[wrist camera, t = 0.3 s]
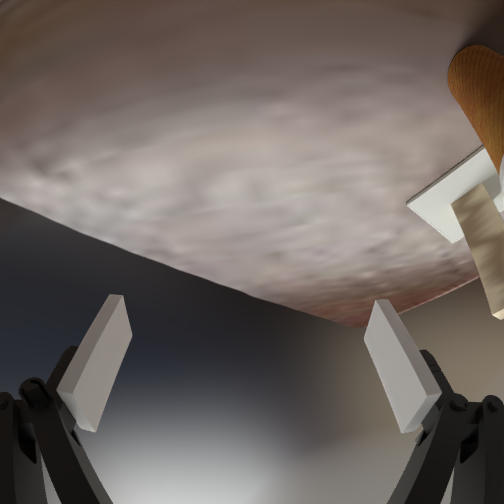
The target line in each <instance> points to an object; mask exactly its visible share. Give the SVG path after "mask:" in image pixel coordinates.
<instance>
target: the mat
mask: <svg viewBox="0 0 504 504" xmlns="http://www.w3.org/2000/svg"><path fill="white" fill-rule="evenodd" d="M481 182H482V184H483V185H484V187H485V188H486V190H487V192H488V193H489V195H490V197H491V198H492V200H493V202H494V204H495V205H496V207H497V209H498V211H499V213H500V212H502V211H503V210H504V196H503V193H502V191H501V183H500V177H499V175H498V173H497V170H496V168H495V166H494V164H493V162H492V160H491V159H490V156H489V155H488V153H487V151H486V149H485V147H484V145H483V146H481V147H480V148H479V149H478V150H476V151H475V152H474V153H472V154H471V155H470V156H469V157H467V158H466V159H465V160H463V161H462V162H461V163H459V164H458V165H457V166H455V167H454V168H453V169H451V170H450V171H449V172H447V173H446V174H445V175H443V176H442V177H441V178H439V179H438V180H437V181H435V182H434V183H432V184H431V185H430V186H428V187H427V188H426V189H424V190H423V191H422V192H420V193H419V194H417V195H416V196H415V197H413V198H412V199H410V200H409V201H408V202H406V205H407V206H408V207H409V208H410V209H412V210H413V211H414V212H415V213H417V214H418V215H419V216H420V217H422V218H423V219H424V220H425V221H426V222H428V223H429V224H430V225H431V226H433V227H434V228H435V229H436V230H437V231H438V232H440V233H441V234H442V235H443V236H444V237H445V238H447V239H448V240H449V241H450V242H451V243H452V244H453V243H454V242H456V241H458V240H459V239H461V238H462V237H464V233H463V231H462V229H461V227H460V224H459V222H458V220H457V218H456V215H455V213H454V211H453V209H452V207H451V205H450V204H452V203H453V202H455V201H456V200H457V199H459V198H460V197H462V196H463V195H465V194H466V193H467V192H469V191H470V190H472V189H473V188H474V187H476V186H477V185H478V184H480V183H481Z"/></svg>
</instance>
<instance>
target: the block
mask: <svg viewBox="0 0 504 504" xmlns="http://www.w3.org/2000/svg"><path fill="white" fill-rule="evenodd" d="M450 205H451V207H452V209H453V211H454V213H455V215H456V218H457V220H458V222H459V224H460V227H461V229H462V231H463V233H464V236H465V238H466V241H467V243H468V246H469V248H470V251H471V253H472V256H473V258H474V261H475V264H476V266H477V269H478V272H479V275H480V278H481V280H482V284H483V286H484V289H485V293H486V296H487V299H488V302H489V306H490V309H491V312H492V315H493V316H495V317H497V318H499V319H500V320H501V319H503V318H504V221H503V219H502V217H501V215H500V213H499V211H498V209H497V207H496V205H495V204H494V202H493V200H492V198H491V197H490V195H489V193H488V192H487V190H486V188H485V187H484V185H483V184H482V182H481V183H480V184H478V185H477V186H476V187H474V188H473V189H472V190H470V191H469V192H467V193H466V194H465V195H463V196H462V197H460V198H459V199H457V200H456V201H455V202H453V203H452V204H450Z"/></svg>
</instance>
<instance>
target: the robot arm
mask: <svg viewBox="0 0 504 504" xmlns="http://www.w3.org/2000/svg"><path fill="white" fill-rule="evenodd" d="M131 338H132V332H131V328H130V324H129V320H128V316H127V312H126V308H125V303H124V299H123V296H122V295H109V297H108V298H107V300H106V301H105V303H104V305H103V306H102V308H101V310H100V311H99V313H98V315H97V316H96V318H95V320H94V321H93V323H92V325H91V327H90V329H89V330H88V332H87V334H86V335H85V337H84V339H83V341H82V342H81V344H80V346H79V347H77V346H70V347H69V348H68V349H67V350H66V351H65V352H64V353H63V354H62V356H61V358H60V360H59V362H58V363H57V365H56V368H54V370H53V372H52V374H51V376H50V378H49V379H48V381H47V383H46V385H45V383H44V382H43V380H41V379H40V378H35V377H34V378H29V379H27V380H25V381H24V382H23V383H22V384H21V386H20V388H19V395H20V397H21V398H22V400H14V398H13V397H12V395H11V394H9V393H8V392H1V393H0V504H47V498H46V492H45V486H44V479H43V472H42V463H41V454H42V457H43V460H44V463H45V465H46V468H47V471H48V473H49V476H50V478H51V481H52V483H53V485H54V488H55V490H56V492H57V495H58V497H59V499H60V501H61V503H62V504H113V502H112V501H111V499H110V498H109V496H108V494H107V492H106V491H105V489H104V488H103V485H102V484H101V482H100V480H99V478H98V476H97V474H96V473H95V471H94V469H93V467H92V465H91V463H90V461H89V459H88V457H87V455H86V453H85V451H84V449H83V446H82V444H81V442H80V440H79V438H78V435H77V433H76V431H75V430H74V426H75V423H76V422H77V423H78V425H79V427H80V428H81V429H84V430H88V431H92V432H96V430H97V427H98V424H99V421H100V418H101V416H102V413H103V410H104V407H105V404H106V402H107V399H108V396H109V393H110V391H111V388H112V385H113V383H114V380H115V378H116V375H117V372H118V370H119V367H120V364H121V362H122V360H123V357H124V355H125V352H126V350H127V347H128V345H129V343H130V340H131ZM364 341H365V343H366V345H367V348H368V350H369V352H370V355H371V357H372V360H373V362H374V364H375V367H376V369H377V372H378V374H379V377H380V379H381V381H382V384H383V386H384V389H385V391H386V394H387V396H388V399H389V402H390V404H391V407H392V409H393V412H394V414H395V417H396V419H397V422H398V425H399V428H400V431H401V433H406V432H410V431H415V430H416V429H417V428H418V426H419V425H420V424H421V423H422V425H423V428H424V429H423V430H422V432H421V433H420V434H419V436H418V437H417V438H416V439H415V442H417V444H416V446H415V448H414V451H413V453H412V455H411V457H410V460H409V462H408V464H407V466H406V468H405V470H404V472H403V474H402V476H401V478H400V480H399V482H398V484H397V486H396V488H395V490H394V492H393V494H392V495H391V497H390V499H389V501H388V503H387V504H440V503H441V501H442V498H443V496H444V493H445V491H446V488H447V485H448V482H449V480H450V477H451V474H452V471H453V468H454V478H453V487H452V496H451V502H450V504H504V405H503V402H502V401H501V400H500V399H499V398H498V397H497V396H494V395H488V396H486V397H485V398H484V399H483V401H482V402H468V400H467V399H466V398H465V397H464V396H462V395H461V394H457V393H454V392H453V390H452V388H451V386H450V384H449V383H448V381H447V379H446V377H445V376H444V374H443V372H442V371H441V369H440V367H439V365H438V364H437V362H436V360H435V358H434V357H433V355H431V354H430V353H429V352H428V351H427V350H418V348H417V346H416V344H415V343H414V341H413V339H412V338H411V336H410V334H409V333H408V331H407V329H406V328H405V326H404V325H403V323H402V321H401V319H400V318H399V316H398V314H397V313H396V311H395V310H394V308H393V306H392V305H391V303H390V302H389V300H388V299H386V300H375V304H374V307H373V311H372V314H371V317H370V321H369V324H368V327H367V330H366V333H365V337H364ZM417 440H418V441H417ZM40 451H41V452H40ZM454 465H455V466H454Z"/></svg>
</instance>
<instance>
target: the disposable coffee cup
mask: <svg viewBox="0 0 504 504" xmlns="http://www.w3.org/2000/svg"><path fill="white" fill-rule="evenodd" d="M448 85H449V89H450V91H451V93H452V95H453V96H454V98H455V99H456V101H457V102H458V104H459V105H460V107H461V108H462V110H463V111H464V113H465V115H466V116H467V118H468V119H469V121H470V123H471V124H472V126H473V128H474V129H475V131H476V133H477V134H478V136H479V138H480V140H481V142H482V143H483V145H484V147H485V149H486V151H487V153H488V155H489V156H490V159H491V160H492V162H493V164H494V166H495V168H496V170H497V173H498V175H499V177H500V183H501V191H502V193H503V196H504V56H502V55H500V54H498V53H497V52H495V51H493V50H491V49H489V48H488V47H485V46H482V45H472V46H468V47H466V48H464V49H462V50H461V51H460V52H459V53H458V54H457V55H456V56H455V57H454V59H453V60H452V62H451V64H450V67H449V71H448Z"/></svg>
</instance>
